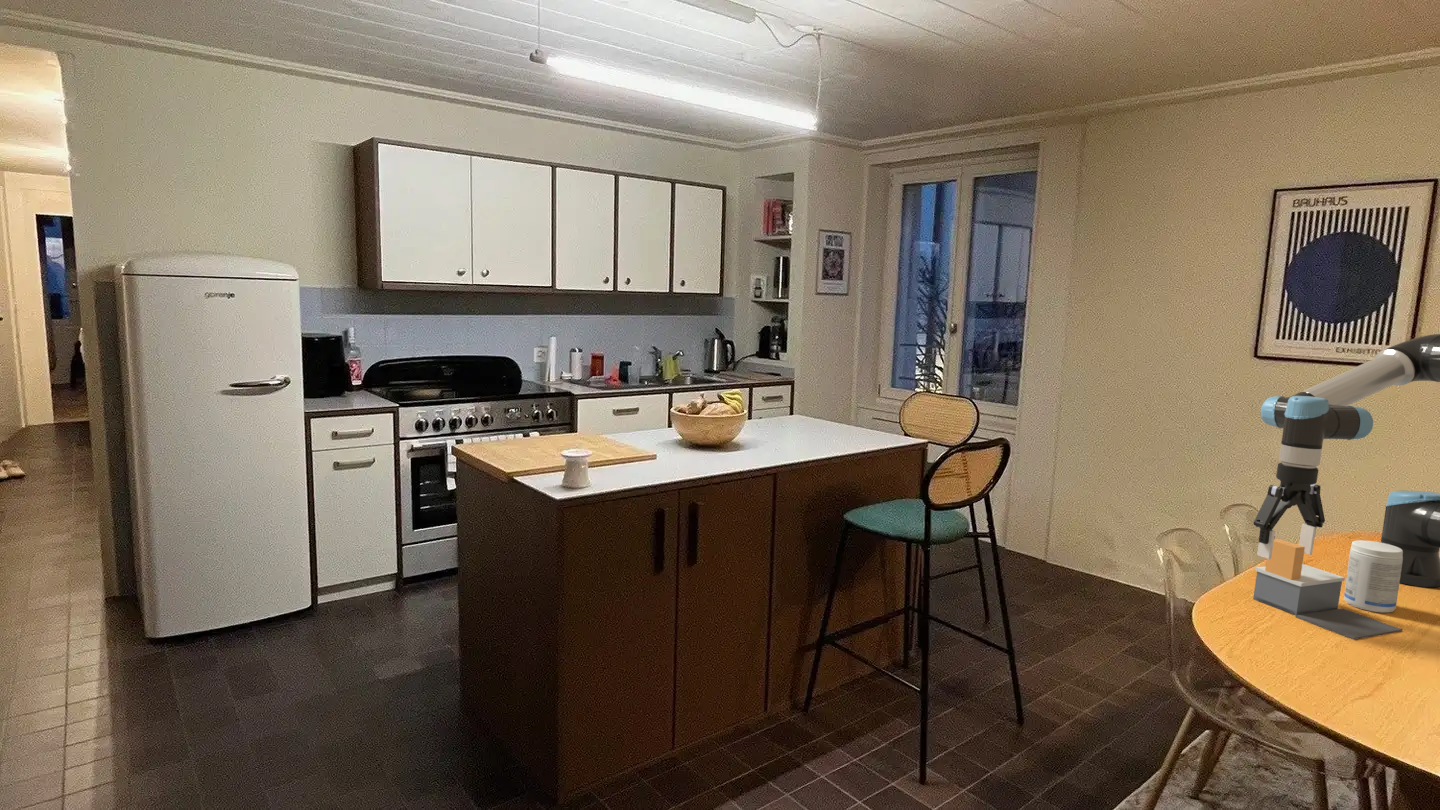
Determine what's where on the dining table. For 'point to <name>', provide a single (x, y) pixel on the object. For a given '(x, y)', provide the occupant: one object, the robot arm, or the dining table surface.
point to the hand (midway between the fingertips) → (1284, 555)
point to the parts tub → (1296, 595)
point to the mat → (1348, 623)
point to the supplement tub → (1373, 576)
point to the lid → (1294, 566)
